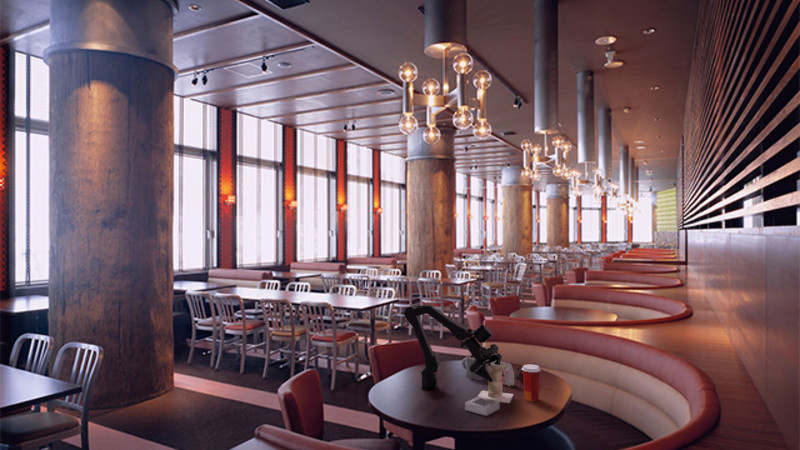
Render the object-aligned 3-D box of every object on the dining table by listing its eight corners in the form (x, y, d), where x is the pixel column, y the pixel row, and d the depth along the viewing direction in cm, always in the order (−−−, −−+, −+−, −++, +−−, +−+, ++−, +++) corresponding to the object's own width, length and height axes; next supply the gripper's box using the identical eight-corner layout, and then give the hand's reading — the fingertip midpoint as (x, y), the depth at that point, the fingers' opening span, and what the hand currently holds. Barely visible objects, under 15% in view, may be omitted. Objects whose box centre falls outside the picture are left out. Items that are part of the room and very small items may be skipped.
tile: (476, 399, 212) (476, 397, 212) (482, 391, 221) (482, 390, 221) (509, 403, 206) (509, 401, 206) (513, 395, 216) (513, 394, 216)
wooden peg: (488, 396, 214) (487, 366, 214) (493, 393, 217) (493, 364, 217) (497, 398, 211) (496, 368, 211) (502, 395, 214) (502, 365, 214)
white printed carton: (503, 381, 236) (502, 360, 236) (514, 384, 230) (513, 363, 230) (497, 383, 233) (497, 362, 233) (509, 386, 228) (508, 365, 228)
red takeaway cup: (542, 371, 230) (524, 365, 244) (529, 369, 227) (511, 363, 241) (540, 386, 228) (522, 380, 242) (527, 384, 226) (509, 378, 240)
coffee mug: (491, 377, 242) (490, 357, 242) (476, 381, 237) (475, 360, 237) (472, 371, 253) (472, 351, 253) (458, 374, 248) (457, 354, 248)
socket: (465, 409, 199) (464, 402, 200) (478, 403, 207) (478, 396, 207) (486, 416, 193) (485, 408, 193) (499, 408, 200) (499, 401, 200)
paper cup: (541, 397, 213) (540, 364, 213) (540, 403, 206) (539, 369, 206) (522, 395, 216) (522, 363, 216) (521, 401, 208) (520, 368, 209)
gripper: (474, 342, 210) (497, 373, 202) (497, 335, 223) (520, 363, 216) (459, 357, 215) (481, 388, 207) (483, 349, 229) (504, 378, 221)
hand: (497, 379), depth 213 cm, fingers open, 9 cm apart
